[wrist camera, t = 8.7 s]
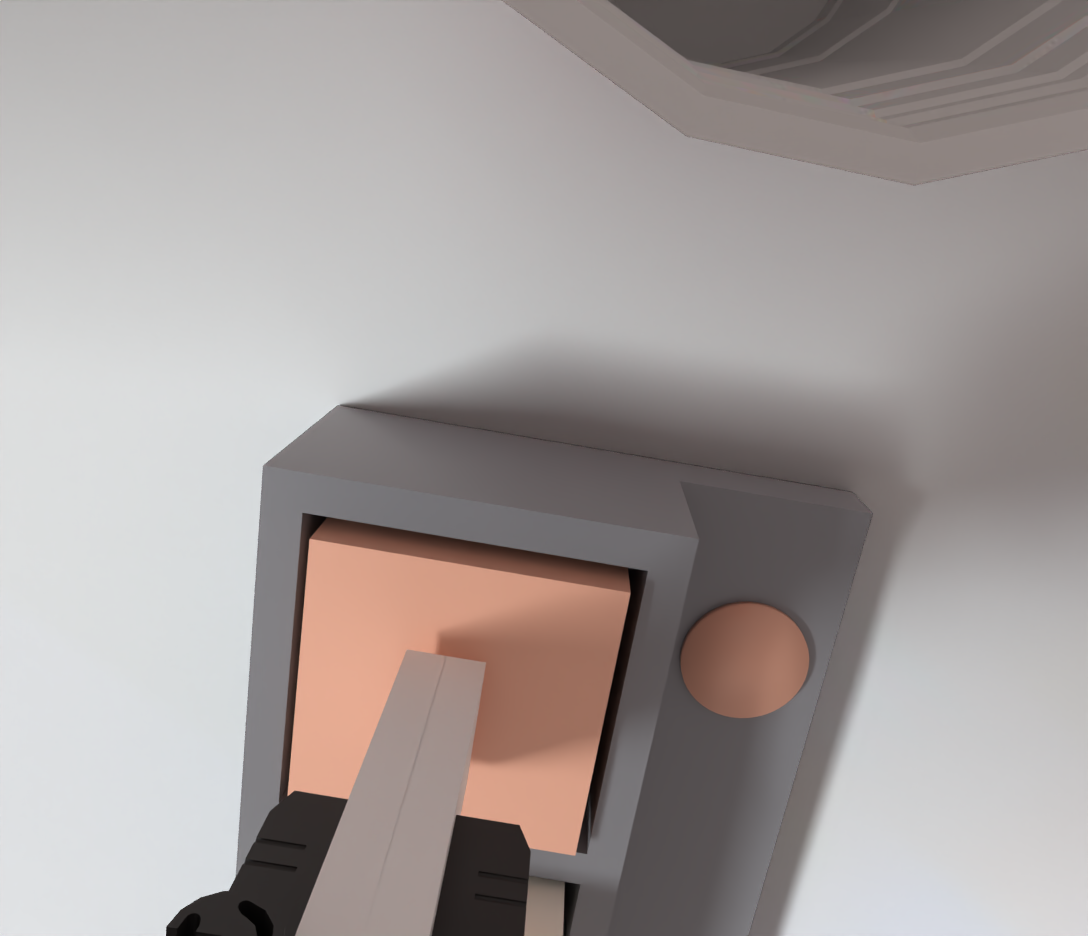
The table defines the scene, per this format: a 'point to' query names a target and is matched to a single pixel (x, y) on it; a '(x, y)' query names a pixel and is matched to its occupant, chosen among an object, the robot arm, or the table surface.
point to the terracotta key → (469, 633)
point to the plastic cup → (848, 76)
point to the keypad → (644, 653)
